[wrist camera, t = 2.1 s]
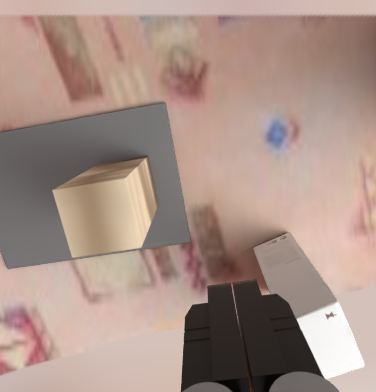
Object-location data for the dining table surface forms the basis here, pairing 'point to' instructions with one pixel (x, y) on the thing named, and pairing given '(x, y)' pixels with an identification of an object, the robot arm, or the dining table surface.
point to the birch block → (108, 207)
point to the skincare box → (310, 304)
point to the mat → (75, 165)
